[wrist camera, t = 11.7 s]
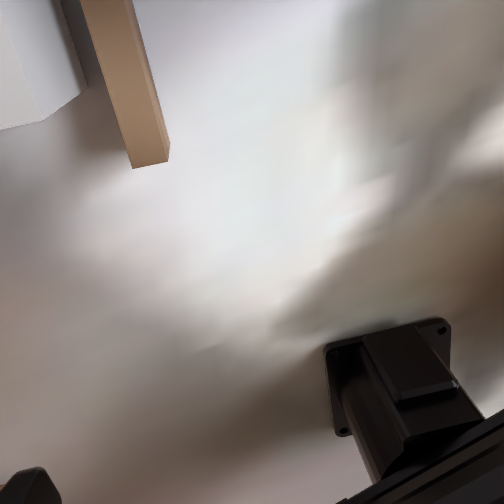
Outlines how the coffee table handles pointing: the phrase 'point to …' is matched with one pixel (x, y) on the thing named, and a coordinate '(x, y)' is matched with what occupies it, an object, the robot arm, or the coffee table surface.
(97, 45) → the lane rack
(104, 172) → the coffee table surface
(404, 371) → the robot arm
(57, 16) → the light grey block
